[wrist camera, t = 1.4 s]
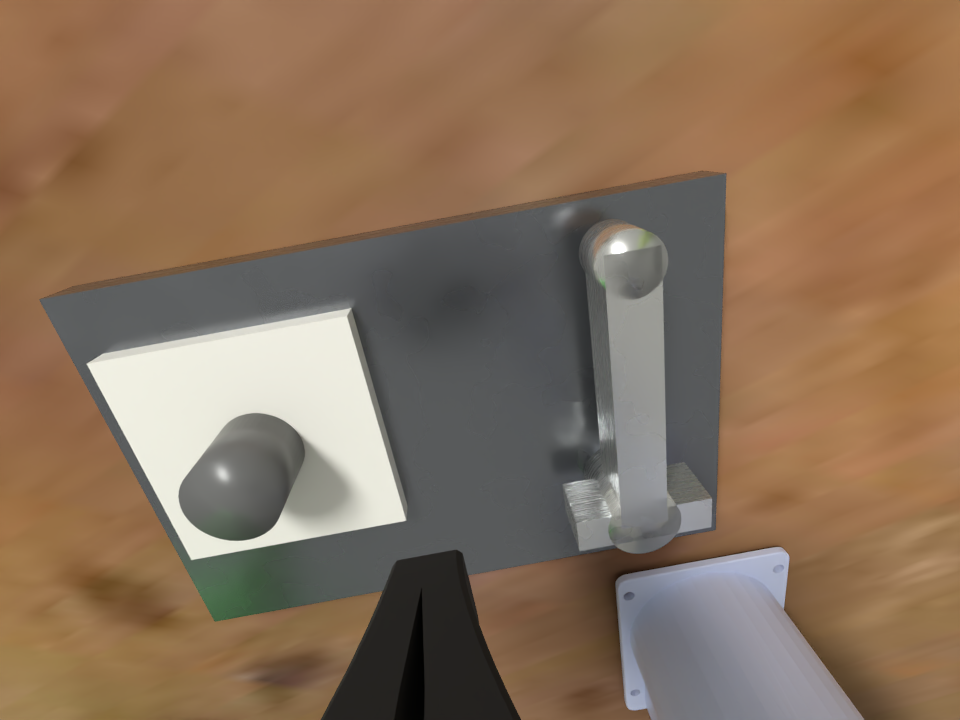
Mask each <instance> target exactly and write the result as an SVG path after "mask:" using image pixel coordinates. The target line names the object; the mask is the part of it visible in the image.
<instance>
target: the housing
mask: <svg viewBox="0 0 960 720" xmlns="http://www.w3.org/2000/svg"><path fill="white" fill-rule="evenodd" d="M725 199H726V173H718V172H709V171H699V172H693V173H688V174H683V175H677V176H672V177H666V178H661V179H655V180H650V181H644V182H639V183H634V184H628V185H623V186H617V187H612V188H606V189H601V190H595V191H590V192H585V193H579V194H574V195H568V196H563V197H557V198H552V199H546V200H541V201H536V202H530V203H525V204H519V205H514V206H508V207H503V208H497V209H492V210H486V211H481V212H476V213H470V214H465V215H459V216H454V217H448V218H443V219H437V220H432V221H427V222H421V223H416V224H410V225H405V226H399V227H394V228H388V229H383V230H378V231H372V232H367V233H361V234H356V235H350V236H345V237H339V238H334V239H329V240H323V241H318V242H312V243H307V244H301V245H296V246H290V247H285V248H279V249H274V250H269V251H263V252H258V253H252V254H247V255H241V256H236V257H230V258H225V259H220V260H214V261H209V262H203V263H198V264H192V265H187V266H181V267H176V268H171V269H165V270H160V271H154V272H149V273H143V274H138V275H132V276H127V277H122V278H116V279H111V280H105V281H100V282H94V283H89V284H83V285H78V286H73V287H70V288H67V289H65V290H62V291H60V292H57V293H55V294H52V295H49V296H47V297H44V298H42V299H39V300H40V302H41V304H42V306H43V308H44V309H45V311H46V313H47V315H48V317H49V319H50V320H51V322H52V324H53V326H54V328H55V330H56V331H57V333H58V335H59V337H60V339H61V341H62V342H63V344H64V346H65V348H66V350H67V352H68V353H69V355H70V357H71V359H72V361H73V363H74V364H75V366H76V368H77V370H78V372H79V373H80V375H81V377H82V379H83V381H84V383H85V384H86V386H87V388H88V390H89V392H90V394H91V395H92V397H93V399H94V401H95V403H96V405H97V406H98V408H99V410H100V412H101V414H102V416H103V417H104V419H105V421H106V423H107V425H108V427H109V428H110V430H111V432H112V434H113V436H114V438H115V439H116V441H117V443H118V445H119V447H120V449H121V450H122V452H123V454H124V456H125V458H126V460H127V461H128V463H129V465H130V467H131V469H132V471H133V472H134V474H135V476H136V478H137V480H138V482H139V483H140V485H141V487H142V489H143V491H144V493H145V494H146V496H147V498H148V500H149V502H150V504H151V505H152V507H153V509H154V511H155V513H156V515H157V516H158V518H159V520H160V522H161V524H162V526H163V527H164V529H165V531H166V533H167V535H168V537H169V538H170V540H171V542H172V544H173V546H174V548H175V549H176V551H177V553H178V555H179V557H180V559H181V560H182V562H183V564H184V566H185V568H186V570H187V571H188V573H189V575H190V577H191V579H192V581H193V582H194V584H195V586H196V588H197V590H198V592H199V593H200V595H201V597H202V599H203V601H204V603H205V604H206V606H207V608H208V610H209V612H210V614H211V615H212V617H213V619H214V621H220V620H226V619H231V618H237V617H242V616H248V615H253V614H259V613H264V612H270V611H275V610H281V609H286V608H291V607H297V606H302V605H308V604H313V603H319V602H324V601H330V600H335V599H341V598H346V597H352V596H357V595H363V594H368V593H374V592H379V591H383V590H384V587H385V585H386V582H387V580H388V577H389V575H390V572H391V569H392V566H393V565H394V563H395V562H396V561H397V560H401V559H407V558H412V557H418V556H423V555H429V554H434V553H440V552H445V551H451V550H458V551H460V552H462V553H463V556H464V561H465V565H466V569H467V573H468V575H472V574H477V573H483V572H488V571H494V570H499V569H505V568H510V567H516V566H521V565H527V564H532V563H538V562H543V561H549V560H554V559H559V558H565V557H570V556H576V555H581V554H587V553H592V552H598V551H603V550H609V549H614V548H617V547H616V546H615V545H611V546H606V547H600V548H595V549H589V550H584V551H579V548H578V545H577V542H576V539H575V536H574V533H573V530H572V527H571V525H570V522H569V519H568V516H567V513H566V509H565V501H564V493H563V484H566V483H572V482H577V481H583V480H585V477H584V469H585V466H586V463H587V461H588V460H589V458H590V457H591V456H592V455H593V454H594V453H595V452H596V451H597V450H599V449H600V440H599V428H598V416H597V404H596V392H595V380H594V368H593V356H592V344H591V332H590V320H589V308H588V296H587V284H586V272H585V271H584V269H583V268H582V266H581V263H580V259H579V247H580V243H581V241H582V239H583V237H584V235H585V234H586V232H587V231H588V230H589V229H590V228H591V227H592V226H593V225H595V224H596V223H598V222H600V221H603V220H607V219H619V220H622V221H625V222H627V223H630V224H632V225H634V226H637V227H639V228H642V229H644V230H646V231H649V232H651V233H653V234H655V235H656V236H658V237H659V238H660V239H661V241H662V242H663V243H664V245H665V247H666V250H667V253H668V267H667V271H666V274H665V276H664V278H663V314H664V364H665V413H666V463H667V465H670V464H675V463H681V462H685V464H686V465H687V466H688V467H689V469H690V470H691V471H692V473H693V474H694V475H695V477H696V478H697V479H698V481H699V482H700V483H701V484H702V486H703V487H704V488H705V490H706V491H707V492H708V494H709V495H710V496H711V498H712V522H711V527H710V528H704V529H699V530H693V531H688V532H682V533H677V534H676V535H675V536H674V537H680V536H685V535H691V534H696V533H702V532H707V531H713V530H716V500H717V467H718V433H719V400H720V366H721V333H722V299H723V266H724V232H725ZM349 308H351V309H352V313H353V316H354V320H355V323H356V327H357V330H358V334H359V337H360V341H361V344H362V348H363V351H364V355H365V358H366V362H367V365H368V369H369V372H370V376H371V379H372V383H373V386H374V390H375V393H376V397H377V400H378V404H379V407H380V411H381V414H382V418H383V421H384V425H385V428H386V432H387V435H388V439H389V443H390V446H391V450H392V453H393V457H394V460H395V464H396V467H397V471H398V474H399V478H400V481H401V485H402V488H403V492H404V495H405V499H406V502H407V506H408V508H407V519H406V521H402V522H397V523H391V524H386V525H380V526H375V527H369V528H364V529H358V530H353V531H348V532H342V533H337V534H331V535H326V536H320V537H315V538H309V539H304V540H298V541H293V542H287V543H282V544H276V545H271V546H266V547H260V548H255V549H249V550H244V551H238V552H233V553H227V554H222V555H216V556H211V557H205V558H200V559H195V560H191V558H190V556H189V555H188V553H187V551H186V549H185V547H184V545H183V543H182V541H181V540H180V538H179V536H178V534H177V532H176V530H175V528H174V527H173V525H172V523H171V521H170V519H169V517H168V515H167V513H166V512H165V510H164V508H163V506H162V504H161V502H160V500H159V498H158V497H157V495H156V493H155V491H154V489H153V487H152V485H151V484H150V482H149V480H148V478H147V476H146V474H145V472H144V470H143V469H142V467H141V465H140V463H139V461H138V459H137V457H136V455H135V454H134V452H133V450H132V448H131V446H130V444H129V442H128V441H127V439H126V437H125V435H124V433H123V431H122V429H121V427H120V426H119V424H118V422H117V420H116V418H115V416H114V414H113V412H112V411H111V409H110V407H109V405H108V403H107V401H106V399H105V398H104V396H103V394H102V392H101V390H100V388H99V386H98V384H97V383H96V381H95V379H94V377H93V375H92V373H91V371H90V369H89V368H88V366H87V363H89V362H90V361H92V360H94V359H95V358H97V357H98V356H100V355H102V354H104V353H110V352H115V351H120V350H126V349H131V348H137V347H142V346H148V345H153V344H159V343H164V342H169V341H175V340H180V339H186V338H191V337H197V336H202V335H208V334H213V333H219V332H224V331H229V330H235V329H240V328H246V327H251V326H257V325H262V324H268V323H273V322H279V321H284V320H289V319H295V318H300V317H306V316H311V315H317V314H322V313H328V312H333V311H338V310H344V309H349Z"/></svg>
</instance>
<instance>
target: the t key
mask: <svg viewBox="0 0 960 720" xmlns="http://www.w3.org/2000/svg"><path fill="white" fill-rule="evenodd" d="M579 259H580V263H581V266H582V268H583V269H584V271H585V272H586V284H587V296H588V308H589V320H590V332H591V344H592V356H593V368H594V380H595V392H596V404H597V416H598V428H599V440H600V449H599V450H597V451H596V452H595V453H594V454H593V455H592V456H591V457H590V458H589V460H588V461H587V463H586V466H585V469H584V477H585V480H583V481H577V482H572V483H566V484H563V493H564V501H565V509H566V513H567V516H568V519H569V522H570V525H571V527H572V530H573V533H574V536H575V539H576V542H577V545H578V548H579V551H584V550H589V549H595V548H600V547H606V546H611V545H615V546H616V547H617V548H619V549H620V550H623V551H625V552H628V553H635V554H641V553H648V552H652V551H655V550H657V549H659V548H661V547H663V546H664V545H666V544H667V543H668V542H670V541H671V540H672V539H673V538H674V536H675V535H676V534H677V533H682V532H688V531H693V530H699V529H704V528H710V527H711V522H712V498H711V496H710V495H709V494H708V492H707V491H706V490H705V488H704V487H703V486H702V484H701V483H700V482H699V481H698V479H697V478H696V477H695V475H694V474H693V473H692V471H691V470H690V469H689V467H688V466H687V465H686V464H685V462H681V463H675V464H670V465H667V463H666V413H665V364H664V314H663V278H664V276H665V274H666V271H667V267H668V253H667V250H666V247H665V245H664V243H663V242H662V241H661V239H660V238H659V237H658V236H656V235H655V234H653V233H651V232H649V231H646V230H644V229H642V228H639V227H637V226H634V225H632V224H630V223H627V222H625V221H622V220H619V219H607V220H603V221H600V222H598V223H596V224H595V225H593V226H592V227H591V228H590V229H589V230H588V231H587V232H586V234H585V235H584V237H583V239H582V241H581V243H580V247H579Z"/></svg>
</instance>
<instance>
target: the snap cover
mask: <svg viewBox="0 0 960 720" xmlns="http://www.w3.org/2000/svg"><path fill="white" fill-rule="evenodd" d="M87 366H88V368H89V369H90V371H91V373H92V375H93V377H94V379H95V381H96V383H97V384H98V386H99V388H100V390H101V392H102V394H103V396H104V398H105V399H106V401H107V403H108V405H109V407H110V409H111V411H112V412H113V414H114V416H115V418H116V420H117V422H118V424H119V426H120V427H121V429H122V431H123V433H124V435H125V437H126V439H127V441H128V442H129V444H130V446H131V448H132V450H133V452H134V454H135V455H136V457H137V459H138V461H139V463H140V465H141V467H142V469H143V470H144V472H145V474H146V476H147V478H148V480H149V482H150V484H151V485H152V487H153V489H154V491H155V493H156V495H157V497H158V498H159V500H160V502H161V504H162V506H163V508H164V510H165V512H166V513H167V515H168V517H169V519H170V521H171V523H172V525H173V527H174V528H175V530H176V532H177V534H178V536H179V538H180V540H181V541H182V543H183V545H184V547H185V549H186V551H187V553H188V555H189V556H190V558H191V560H195V559H200V558H205V557H211V556H216V555H222V554H227V553H233V552H238V551H244V550H249V549H255V548H260V547H266V546H271V545H276V544H282V543H287V542H293V541H298V540H304V539H309V538H315V537H320V536H326V535H331V534H337V533H342V532H348V531H353V530H358V529H364V528H369V527H375V526H380V525H386V524H391V523H397V522H402V521H406V519H407V508H408V506H407V502H406V499H405V495H404V492H403V488H402V485H401V481H400V478H399V474H398V471H397V467H396V464H395V460H394V457H393V453H392V450H391V446H390V443H389V439H388V435H387V432H386V428H385V425H384V421H383V418H382V414H381V411H380V407H379V404H378V400H377V397H376V393H375V390H374V386H373V383H372V379H371V376H370V372H369V369H368V365H367V362H366V358H365V355H364V351H363V348H362V344H361V341H360V337H359V334H358V330H357V327H356V323H355V320H354V316H353V313H352V309H351V308H349V309H344V310H338V311H333V312H328V313H322V314H317V315H311V316H306V317H300V318H295V319H289V320H284V321H279V322H273V323H268V324H262V325H257V326H251V327H246V328H240V329H235V330H229V331H224V332H219V333H213V334H208V335H202V336H197V337H191V338H186V339H180V340H175V341H169V342H164V343H159V344H153V345H148V346H142V347H137V348H131V349H126V350H120V351H115V352H110V353H104V354H102V355H100V356H98V357H97V358H95V359H94V360H92V361H90V362H89V363H87Z"/></svg>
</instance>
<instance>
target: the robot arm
mask: <svg viewBox="0 0 960 720" xmlns="http://www.w3.org/2000/svg"><path fill="white" fill-rule="evenodd" d="M788 567H789V555H788V553H787V552H786V551H785V550H784V549H783V548H781V547H772V548H767V549H761V550H756V551H750V552H745V553H740V554H734V555H729V556H723V557H718V558H712V559H707V560H701V561H696V562H690V563H685V564H679V565H674V566H668V567H663V568H657V569H652V570H646V571H641V572H636V573H630V574H625V575H622V576H620V577H619V578H618V579H617V580H616V583H615V586H616V599H617V611H618V624H619V636H620V649H621V662H622V674H623V687H624V699H625V703H626V706H627V708H628V709H630V710H640V709H646V708H647V709H648V712H649V715H650V718H651V720H864V718H863V717H862V716H861V714H860V713H859V712H858V710H857V709H856V707H855V706H854V705H853V703H852V702H851V701H850V699H849V698H848V697H847V695H846V694H845V692H844V691H843V690H842V688H841V687H840V686H839V684H838V683H837V682H836V680H835V679H834V678H833V676H832V675H831V673H830V672H829V671H828V669H827V668H826V667H825V665H824V664H823V663H822V661H821V660H820V658H819V657H818V656H817V654H816V653H815V652H814V650H813V649H812V648H811V646H810V645H809V644H808V642H807V641H806V639H805V638H804V637H803V635H802V634H801V633H800V631H799V630H798V629H797V627H796V626H795V624H794V623H793V622H792V620H791V619H790V618H789V616H788V615H787V614H786V612H785V611H784V603H785V594H786V585H787V576H788ZM628 592H629V593H628ZM321 720H521V719H520V717H519V715H518V713H517V711H516V709H515V707H514V705H513V703H512V700H511V698H510V696H509V694H508V692H507V690H506V688H505V686H504V683H503V681H502V679H501V677H500V675H499V672H498V670H497V668H496V666H495V664H494V661H493V659H492V656H491V654H490V652H489V649H488V647H487V644H486V642H485V639H484V636H483V634H482V631H481V628H480V626H479V621H478V615H477V610H476V606H475V602H474V598H473V594H472V590H471V585H470V581H469V577H468V573H467V569H466V565H465V561H464V556H463V553H462V552H460V551H458V550H451V551H445V552H440V553H434V554H429V555H423V556H418V557H412V558H407V559H401V560H397V561H396V562H395V563H394V565H393V566H392V569H391V572H390V575H389V577H388V580H387V582H386V585H385V587H384V590H383V592H382V595H381V597H380V600H379V602H378V604H377V607H376V609H375V611H374V614H373V616H372V618H371V620H370V623H369V625H368V627H367V629H366V631H365V634H364V636H363V638H362V640H361V642H360V644H359V646H358V648H357V650H356V653H355V655H354V657H353V659H352V661H351V663H350V665H349V667H348V669H347V671H346V673H345V675H344V677H343V679H342V681H341V683H340V685H339V686H338V688H337V690H336V692H335V694H334V696H333V698H332V700H331V701H330V703H329V705H328V707H327V709H326V711H325V713H324V715H323V717H322V718H321Z"/></svg>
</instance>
